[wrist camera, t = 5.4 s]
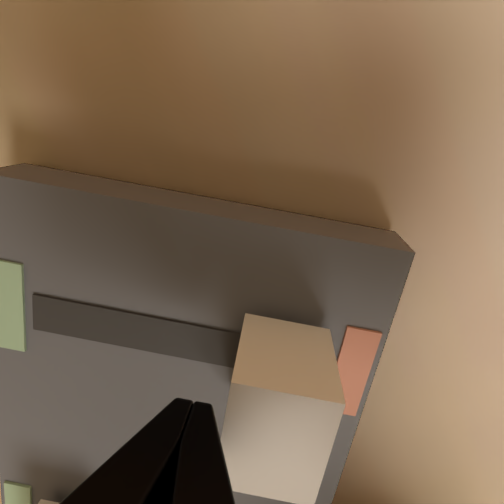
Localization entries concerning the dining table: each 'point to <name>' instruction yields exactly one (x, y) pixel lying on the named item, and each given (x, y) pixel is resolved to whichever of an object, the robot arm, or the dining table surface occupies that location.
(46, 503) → the middle switch
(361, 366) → the breaker panel
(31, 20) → the dining table surface
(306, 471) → the switch
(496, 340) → the dining table surface
